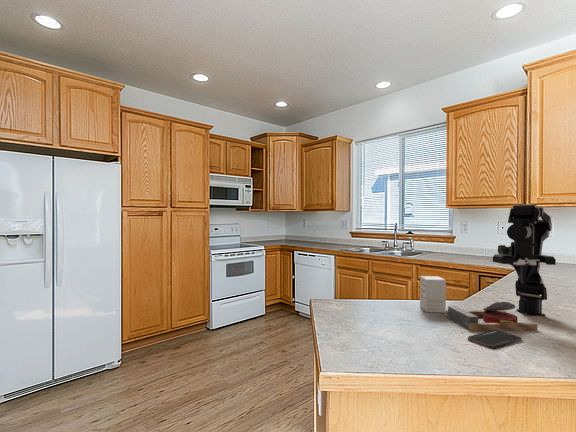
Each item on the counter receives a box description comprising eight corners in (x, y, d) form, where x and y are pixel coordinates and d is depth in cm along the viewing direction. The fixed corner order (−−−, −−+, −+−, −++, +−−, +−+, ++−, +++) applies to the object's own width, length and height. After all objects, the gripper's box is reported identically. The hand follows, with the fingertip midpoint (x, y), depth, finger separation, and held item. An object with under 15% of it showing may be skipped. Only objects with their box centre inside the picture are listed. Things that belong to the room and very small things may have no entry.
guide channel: (502, 315, 117) (502, 310, 117) (537, 330, 102) (537, 324, 102) (445, 315, 115) (445, 310, 115) (472, 330, 100) (472, 324, 100)
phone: (466, 337, 93) (496, 329, 100) (466, 340, 93) (496, 333, 100) (493, 347, 86) (524, 338, 93) (493, 351, 86) (524, 341, 93)
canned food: (487, 337, 107) (471, 309, 110) (493, 327, 115) (478, 301, 117) (524, 330, 100) (506, 300, 103) (528, 319, 107) (511, 292, 110)
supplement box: (438, 307, 126) (439, 276, 126) (446, 313, 119) (446, 279, 119) (419, 306, 127) (419, 275, 127) (425, 312, 119) (426, 279, 119)
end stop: (455, 317, 114) (456, 306, 114) (477, 329, 102) (478, 316, 102) (447, 317, 114) (448, 306, 114) (469, 329, 102) (469, 316, 102)
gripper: (531, 238, 119) (531, 279, 119) (483, 237, 119) (482, 278, 119) (557, 240, 108) (556, 286, 108) (503, 240, 108) (503, 285, 108)
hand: (523, 283), depth 111 cm, fingers closed
